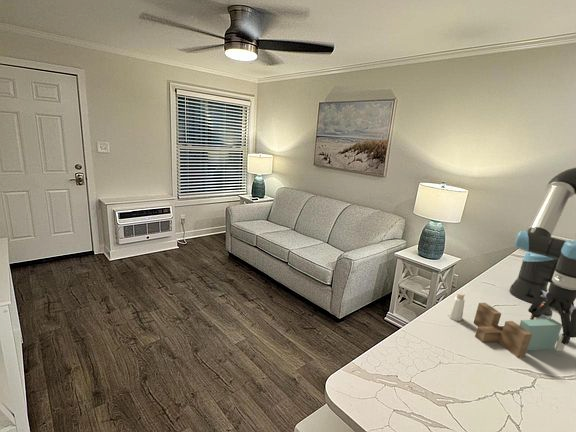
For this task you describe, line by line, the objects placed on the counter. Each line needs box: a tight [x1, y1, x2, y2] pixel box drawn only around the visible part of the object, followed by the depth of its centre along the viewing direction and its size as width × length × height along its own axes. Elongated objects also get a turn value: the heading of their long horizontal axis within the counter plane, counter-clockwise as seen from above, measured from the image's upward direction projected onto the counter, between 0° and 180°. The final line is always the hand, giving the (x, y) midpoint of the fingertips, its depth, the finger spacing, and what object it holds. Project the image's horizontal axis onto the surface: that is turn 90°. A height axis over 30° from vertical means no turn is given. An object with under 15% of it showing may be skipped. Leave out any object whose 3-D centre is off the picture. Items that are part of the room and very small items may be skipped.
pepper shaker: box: [447, 291, 465, 322], centre depth 126 cm, size 5×5×11 cm
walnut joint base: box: [473, 302, 532, 358], centre depth 114 cm, size 20×16×9 cm
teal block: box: [518, 318, 562, 351], centre depth 112 cm, size 14×4×10 cm, turn 101°
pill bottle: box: [529, 302, 553, 320], centre depth 124 cm, size 6×6×11 cm
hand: (545, 341), depth 113 cm, fingers open, 9 cm apart
